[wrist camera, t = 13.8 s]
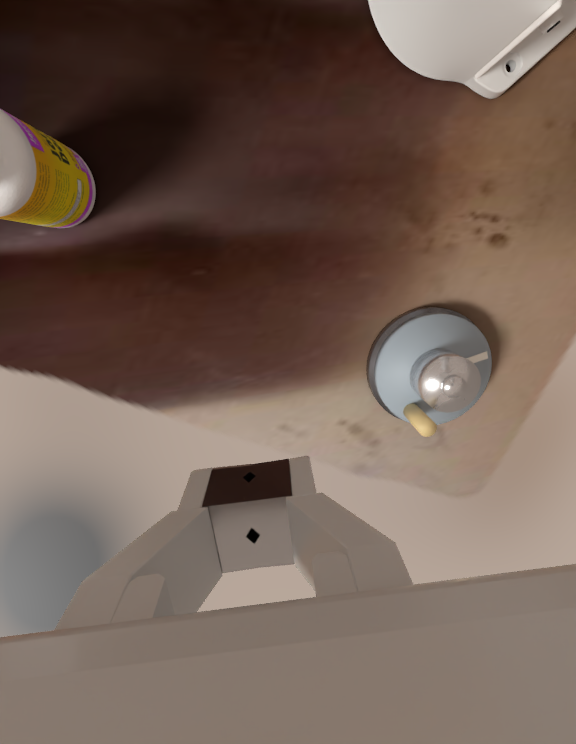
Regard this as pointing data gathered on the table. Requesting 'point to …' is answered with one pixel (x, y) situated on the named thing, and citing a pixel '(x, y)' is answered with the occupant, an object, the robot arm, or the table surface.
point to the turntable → (411, 345)
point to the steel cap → (445, 380)
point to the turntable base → (384, 335)
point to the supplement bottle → (41, 178)
